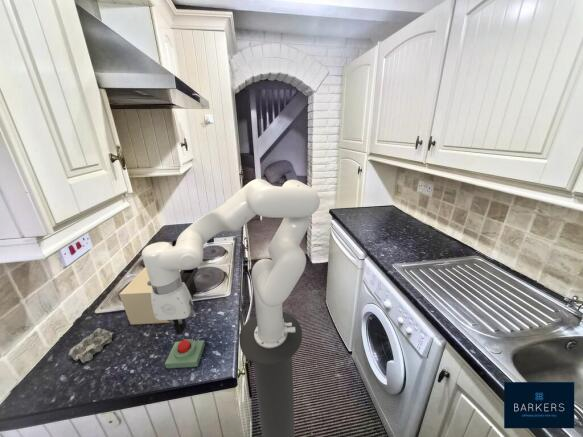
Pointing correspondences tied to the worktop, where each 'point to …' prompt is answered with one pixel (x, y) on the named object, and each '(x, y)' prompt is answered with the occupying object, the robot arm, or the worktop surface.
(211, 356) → the worktop surface
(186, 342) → the button
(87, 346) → the egg carton
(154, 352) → the worktop surface
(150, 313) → the oven
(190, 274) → the oven door
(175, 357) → the control block
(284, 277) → the robot arm
